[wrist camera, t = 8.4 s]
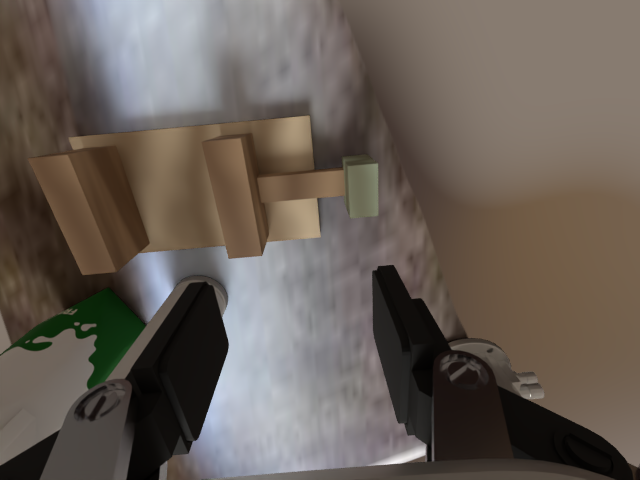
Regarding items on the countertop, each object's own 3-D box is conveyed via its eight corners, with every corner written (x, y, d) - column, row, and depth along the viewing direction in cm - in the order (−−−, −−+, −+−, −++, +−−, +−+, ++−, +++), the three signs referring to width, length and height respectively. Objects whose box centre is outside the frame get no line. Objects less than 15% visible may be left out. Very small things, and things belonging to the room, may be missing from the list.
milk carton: (107, 356, 39) (-70, 573, 21) (52, 306, 36) (-214, 513, 18) (160, 331, 38) (21, 539, 20) (108, 276, 35) (-118, 467, 16)
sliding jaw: (366, 122, 27) (377, 125, 23) (368, 225, 31) (378, 245, 27) (219, 135, 27) (201, 141, 23) (240, 236, 31) (228, 258, 27)
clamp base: (309, 115, 28) (309, 117, 22) (320, 232, 33) (322, 264, 27) (77, 136, 28) (7, 145, 22) (122, 250, 33) (75, 285, 27)
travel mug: (162, 282, 35) (2, 474, 17) (215, 268, 35) (108, 450, 16) (186, 323, 38) (69, 529, 19) (236, 311, 37) (164, 510, 19)
